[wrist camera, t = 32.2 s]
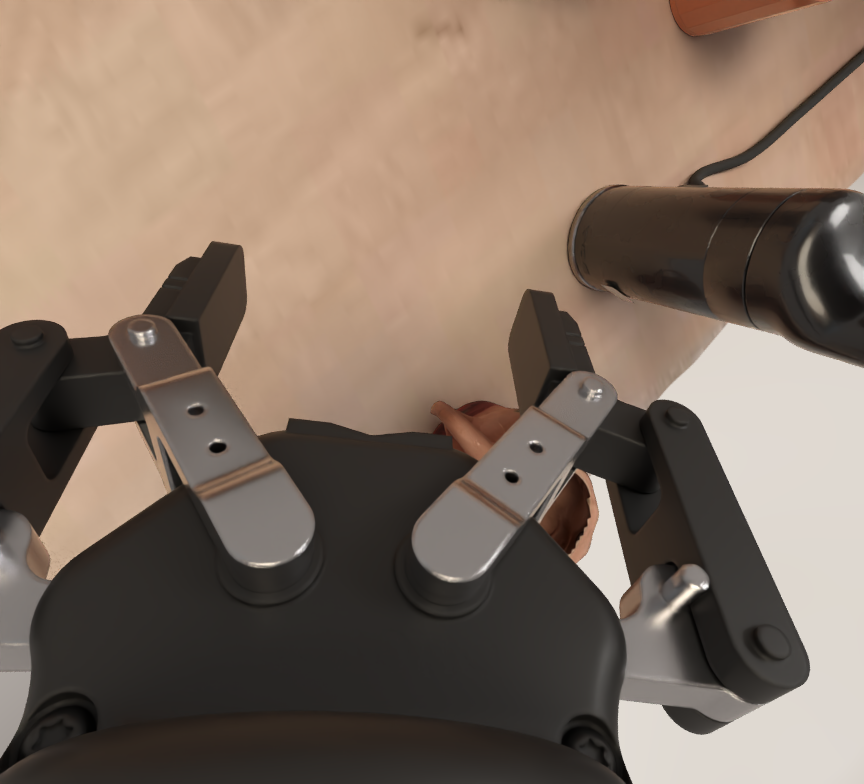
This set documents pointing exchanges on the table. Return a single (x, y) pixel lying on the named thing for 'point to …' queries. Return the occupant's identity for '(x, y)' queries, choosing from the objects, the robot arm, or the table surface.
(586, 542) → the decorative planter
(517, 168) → the table surface
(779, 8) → the pen pot
